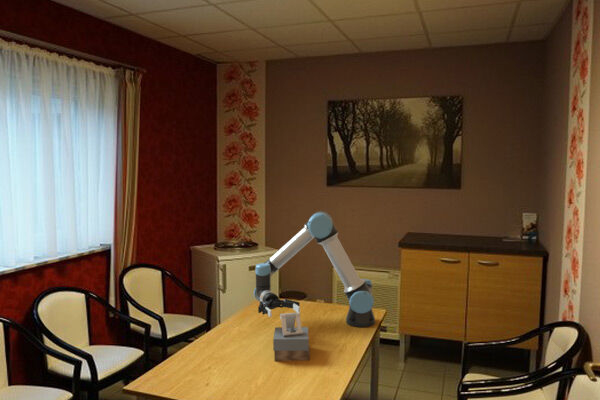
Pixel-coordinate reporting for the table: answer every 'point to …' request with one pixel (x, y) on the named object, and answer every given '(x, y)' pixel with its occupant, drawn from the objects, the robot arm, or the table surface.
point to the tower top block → (290, 340)
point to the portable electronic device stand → (291, 323)
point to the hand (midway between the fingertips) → (285, 312)
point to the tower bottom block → (291, 355)
